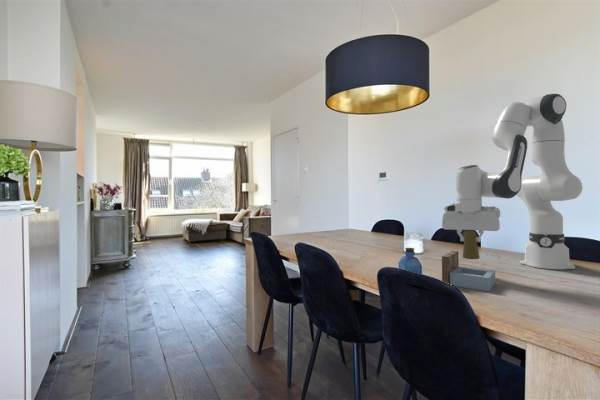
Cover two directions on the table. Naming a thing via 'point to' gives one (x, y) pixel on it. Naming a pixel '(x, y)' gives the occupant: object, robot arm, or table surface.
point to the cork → (470, 245)
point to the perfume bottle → (410, 262)
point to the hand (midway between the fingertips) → (470, 241)
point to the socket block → (473, 278)
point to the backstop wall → (449, 265)
